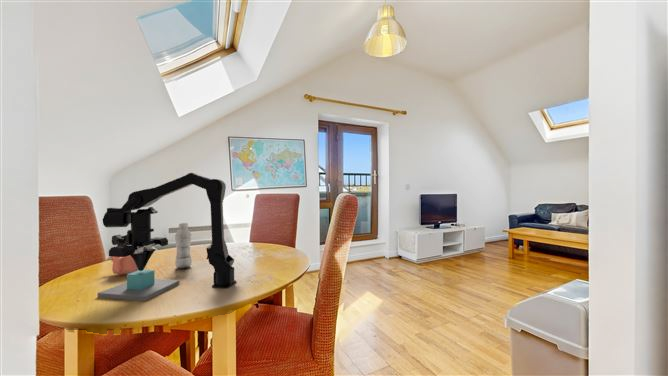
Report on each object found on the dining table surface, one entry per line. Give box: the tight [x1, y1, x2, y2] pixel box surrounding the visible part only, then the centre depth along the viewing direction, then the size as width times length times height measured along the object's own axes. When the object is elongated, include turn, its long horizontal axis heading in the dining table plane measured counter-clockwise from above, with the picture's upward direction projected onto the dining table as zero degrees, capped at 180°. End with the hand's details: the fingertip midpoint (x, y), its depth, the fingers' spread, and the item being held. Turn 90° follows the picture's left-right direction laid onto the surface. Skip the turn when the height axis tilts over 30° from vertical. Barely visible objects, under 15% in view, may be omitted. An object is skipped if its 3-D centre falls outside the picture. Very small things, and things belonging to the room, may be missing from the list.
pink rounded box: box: [109, 256, 138, 277], centre depth 112 cm, size 12×12×10 cm
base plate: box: [97, 278, 180, 302], centre depth 94 cm, size 18×15×2 cm
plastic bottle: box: [174, 222, 192, 269], centre depth 120 cm, size 6×7×20 cm
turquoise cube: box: [126, 269, 155, 290], centre depth 94 cm, size 6×6×5 cm
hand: (141, 270), depth 94 cm, fingers closed
